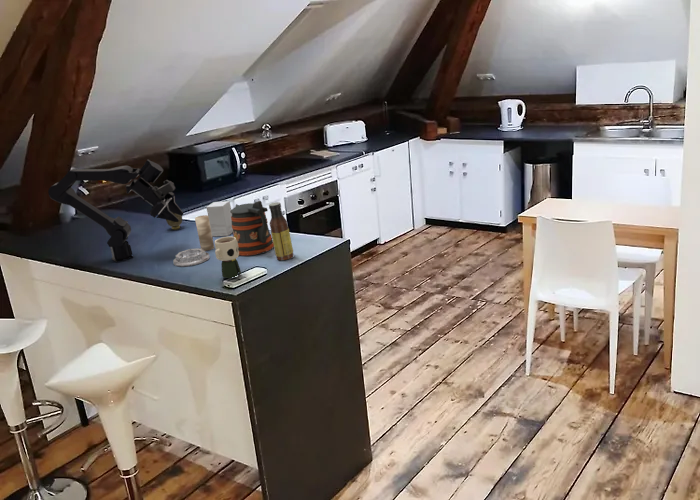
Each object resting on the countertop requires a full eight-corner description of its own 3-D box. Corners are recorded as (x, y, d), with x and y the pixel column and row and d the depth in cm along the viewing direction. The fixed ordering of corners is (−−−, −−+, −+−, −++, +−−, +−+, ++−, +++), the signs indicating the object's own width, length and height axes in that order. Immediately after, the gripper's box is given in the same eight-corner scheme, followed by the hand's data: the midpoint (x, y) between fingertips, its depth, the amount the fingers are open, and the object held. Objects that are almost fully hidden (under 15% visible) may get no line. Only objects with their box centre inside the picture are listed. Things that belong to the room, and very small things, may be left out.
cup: (163, 231, 293) (159, 213, 290) (175, 226, 299) (171, 208, 296) (177, 232, 289) (173, 213, 287) (188, 226, 295) (185, 208, 293)
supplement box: (235, 230, 281) (230, 200, 277) (228, 236, 274) (222, 205, 270) (219, 231, 283) (213, 201, 279) (211, 236, 276) (205, 206, 272)
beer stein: (289, 248, 249) (281, 195, 243) (257, 261, 240) (247, 206, 234) (258, 241, 263) (249, 190, 256) (226, 253, 254) (217, 200, 247)
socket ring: (182, 269, 241) (180, 262, 241) (168, 261, 252) (166, 254, 251) (215, 258, 248) (214, 251, 247) (200, 251, 259) (199, 244, 258)
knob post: (204, 251, 258) (198, 220, 254) (199, 249, 262) (192, 217, 258) (216, 248, 261) (210, 216, 257) (211, 245, 265) (205, 214, 261)
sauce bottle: (294, 254, 243) (286, 199, 237) (293, 259, 237) (285, 204, 231) (275, 256, 243) (267, 202, 237) (274, 262, 237) (265, 206, 231)
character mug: (230, 283, 222) (222, 245, 218) (213, 281, 226) (205, 244, 221) (250, 271, 231) (244, 235, 227) (234, 270, 234) (227, 233, 230)
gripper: (154, 180, 244) (189, 208, 248) (165, 170, 262) (197, 196, 266) (135, 203, 247) (170, 231, 250) (147, 191, 264) (180, 217, 268)
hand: (180, 217), depth 259 cm, fingers open, 9 cm apart
